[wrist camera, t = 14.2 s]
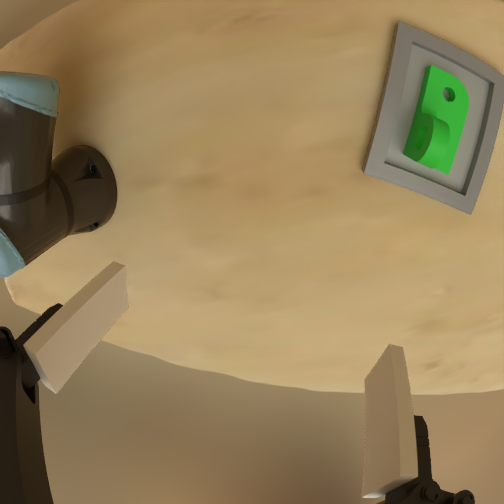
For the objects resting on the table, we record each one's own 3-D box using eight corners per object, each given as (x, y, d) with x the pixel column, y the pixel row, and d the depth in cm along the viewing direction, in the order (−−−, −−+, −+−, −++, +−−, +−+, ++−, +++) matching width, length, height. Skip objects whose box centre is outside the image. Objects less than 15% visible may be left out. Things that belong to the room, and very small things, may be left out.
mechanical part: (442, 171, 30) (469, 188, 23) (402, 153, 31) (422, 166, 24) (466, 87, 24) (497, 85, 17) (426, 66, 25) (451, 57, 18)
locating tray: (361, 170, 33) (363, 173, 32) (395, 25, 24) (399, 21, 22) (465, 210, 32) (470, 215, 30) (500, 78, 22) (507, 77, 20)
